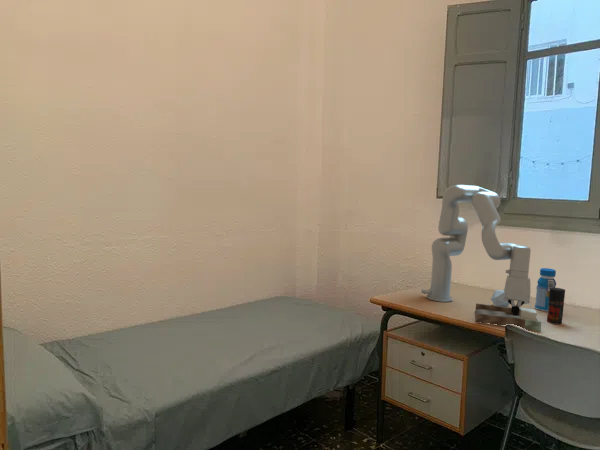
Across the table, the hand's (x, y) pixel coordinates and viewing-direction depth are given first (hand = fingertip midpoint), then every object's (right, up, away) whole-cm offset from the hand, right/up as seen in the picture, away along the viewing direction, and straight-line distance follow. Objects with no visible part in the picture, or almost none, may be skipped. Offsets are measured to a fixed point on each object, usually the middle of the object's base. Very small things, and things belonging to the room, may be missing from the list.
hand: (514, 315), depth 208 cm
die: (+5, -1, +26) cm, 27 cm away
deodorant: (+19, -4, +3) cm, 20 cm away
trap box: (-3, -3, +1) cm, 5 cm away
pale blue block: (+5, -2, -2) cm, 5 cm away
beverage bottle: (+25, -2, +24) cm, 35 cm away
